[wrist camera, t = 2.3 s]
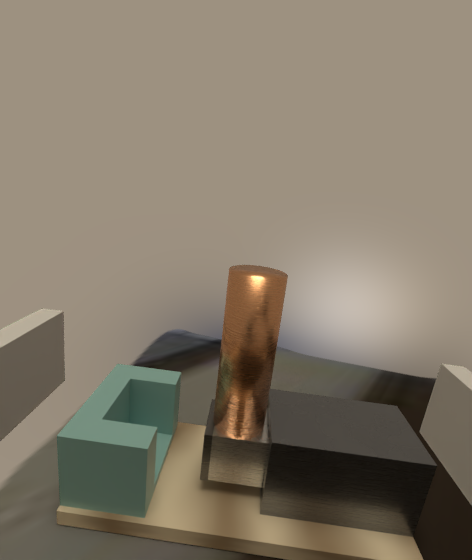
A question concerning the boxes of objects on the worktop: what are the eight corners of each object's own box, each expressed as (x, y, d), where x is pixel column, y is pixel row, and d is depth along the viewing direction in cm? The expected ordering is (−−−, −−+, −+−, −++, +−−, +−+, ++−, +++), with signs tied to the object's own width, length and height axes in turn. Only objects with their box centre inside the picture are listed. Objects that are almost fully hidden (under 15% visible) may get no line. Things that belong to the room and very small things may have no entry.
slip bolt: (375, 463, 27) (424, 285, 23) (396, 508, 23) (459, 304, 19) (207, 439, 28) (226, 261, 24) (199, 479, 24) (220, 274, 20)
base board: (369, 459, 31) (372, 449, 30) (422, 580, 21) (426, 567, 21) (118, 424, 31) (118, 413, 31) (57, 524, 22) (56, 511, 21)
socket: (177, 425, 31) (181, 372, 29) (144, 518, 22) (147, 449, 20) (117, 416, 31) (117, 363, 29) (60, 505, 22) (57, 436, 20)
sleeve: (380, 465, 28) (396, 405, 27) (412, 536, 22) (436, 465, 21) (259, 448, 29) (268, 388, 27) (259, 514, 23) (271, 442, 21)
